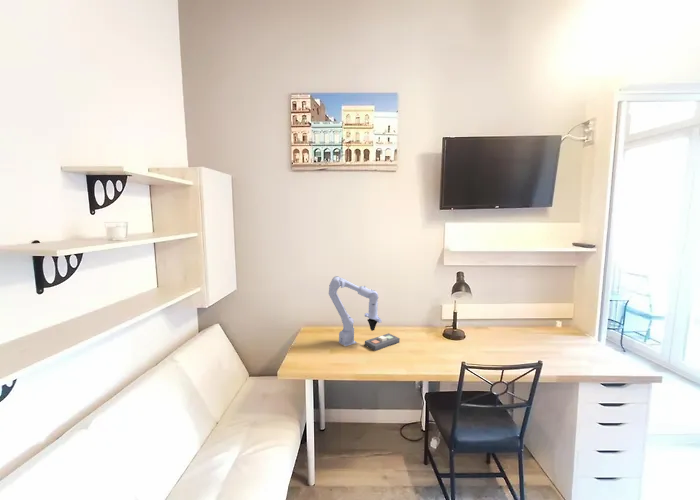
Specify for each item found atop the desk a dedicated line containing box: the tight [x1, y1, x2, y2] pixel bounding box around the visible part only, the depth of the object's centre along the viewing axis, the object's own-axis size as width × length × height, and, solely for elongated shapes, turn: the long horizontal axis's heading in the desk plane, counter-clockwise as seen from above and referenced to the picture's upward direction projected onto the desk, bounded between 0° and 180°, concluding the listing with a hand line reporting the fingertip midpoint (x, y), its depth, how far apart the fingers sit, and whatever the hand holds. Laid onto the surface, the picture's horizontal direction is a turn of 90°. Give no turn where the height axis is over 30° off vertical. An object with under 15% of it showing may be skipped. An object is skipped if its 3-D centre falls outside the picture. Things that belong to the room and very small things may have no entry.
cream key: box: [377, 335, 387, 342], centre depth 213 cm, size 4×4×2 cm
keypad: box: [364, 332, 401, 352], centre depth 213 cm, size 21×10×3 cm, turn 127°
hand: (372, 330), depth 213 cm, fingers closed
